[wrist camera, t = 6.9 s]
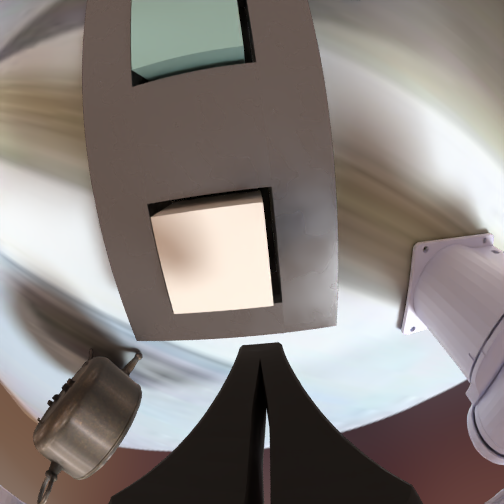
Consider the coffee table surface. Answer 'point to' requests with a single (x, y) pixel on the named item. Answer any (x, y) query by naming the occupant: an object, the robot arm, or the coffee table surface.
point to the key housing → (214, 164)
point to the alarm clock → (87, 419)
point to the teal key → (184, 36)
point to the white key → (215, 253)
